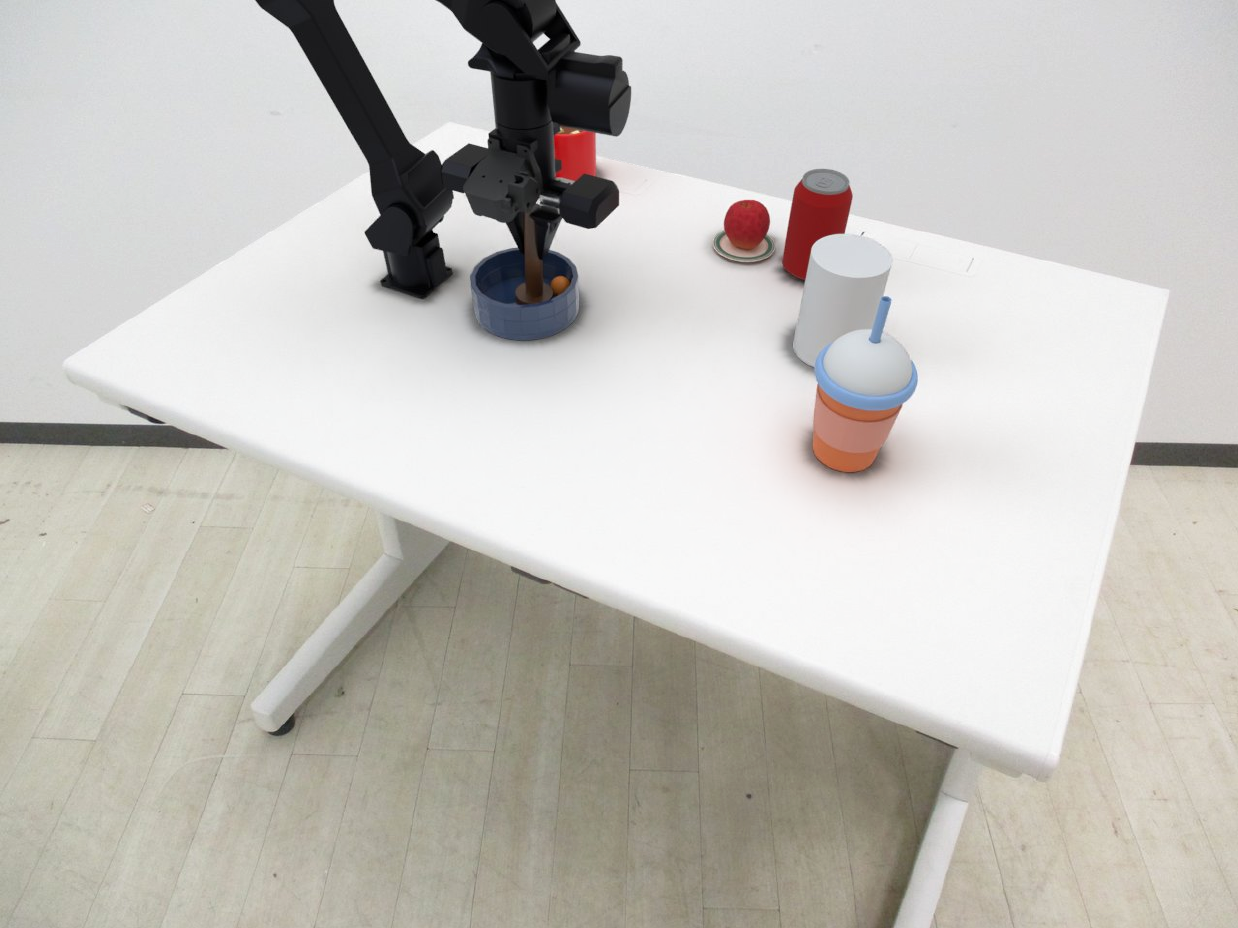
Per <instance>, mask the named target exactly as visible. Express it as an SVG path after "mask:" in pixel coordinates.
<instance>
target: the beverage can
mask: <svg viewBox="0 0 1238 928" xmlns="http://www.w3.org/2000/svg"><path fill="white" fill-rule="evenodd" d="M850 184H851V183H850V179H849V177H848V176H847V175H845V174H844V173H842V172H840V171H838V170H834V169H831V168H830V169H829V168H814V169H811V170H808V171H806V172H805V173H804V174H803V175H802V178H801V180H800V181H798V183H797V184H796V185H795V187H794V190H793V195H792V201H791V204H790V205H791V206H790V212H789V218H788V223H787V228H786V236H785V241H784V247H783V254H782V266H783V268H784V269H785V270H786V271H787V272H788V273H789V274H790V275H792V276H794V277H796V278H798V279H800V280H803V281H805V280H806V275H807V269H808V264H809V259H810V254H811V249H812V246H813V245H814V243H815V242H816V241H818V240H819V239H821V238H823V237H826V236H829V235H834V234H846V230H847V226H848V221H849V216H850V212H851V207H852V202H853V191H852V189H851V185H850Z"/></svg>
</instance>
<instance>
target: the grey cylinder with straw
mask: <svg viewBox="0 0 1238 928" xmlns="http://www.w3.org/2000/svg"><path fill="white" fill-rule="evenodd" d="M892 301H893V300H892V298H891V297H890V296H887V295H883V297H881V300H880V304H879V307H878V311H877V315H876V318H875V322H874V325H873V329H862V330H856V331H852V332H849V333H847V334H845V335H843V336H841V337H840V338H838V339H837V340H836V341H834V342H832V343H830V344H829V345H827V346H826V347H825V348H824V349H823V350H822V351H821V352H820V353H819V355H818V357H817V359H816V362H815V367H813V368H814V377H815V380H816V382H817V384H816V388H815V389H816V391H815V398H814V409H813V417H812V418H813V419H812V426H813V434H812V451H813V453H814V455H815V457H816V458H817V459H818V461H819V462H820V463H822V464H823V465H824V466H826V467H828V468H830V469H832V470H835V471H837V472H842V473H856V472H860V471H863V470H866V469H868V468H869V467H870V466H871V465H872V464H873V463H874V461H875V459H877V456H878V455H879V452H880V450H881V448H882V446H883V445H884V444H885V443H886V441H887V440H888V438H889V435H890V433H891V431H892V429H893V427H894V425H895V423H896V421H897V419H898V418H899V417H898V416H899V414H900V412H901V411H902V408H903V405H904V404H905V403H907V401H908V400H909V399H911V397H912V396H913V395H914V393H915V391H916V389H917V387H918V382H919V381H918V380H919V378H918V377H919V376H918V375H919V374H918V370H917V367H916V365H915V363H914V361H912V358H911V357H910V355H909V353H908V351H907V349H906V347H905V346H904V345H903V344H902V343H901V342H900V341H899V340H898V339H897V338H895V337H894V336H893V335H891V334H889V333H888V332H885V331H884V329H885V326H886V322H887V319H888V314H889V311H890V307H891V304H892Z"/></svg>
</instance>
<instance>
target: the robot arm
mask: <svg viewBox="0 0 1238 928" xmlns="http://www.w3.org/2000/svg"><path fill="white" fill-rule="evenodd" d="M254 1H255V2H256V4H257V5H258V6H259V7H260V9H262V10H264V11H265V12H266V13H267V14H269V15H270V16H271V17H272V18H274V19H276V20H277V21H278V22H280V23H281V24H283V25H284V26H285V27H286V28H288V29H289V30H290V31H291V33H292V35H293V36H294V38H295V40H296V41H297V43H298V45H299V47H300V48H301V50H302V52H303V54H304V55H305V57H306V59H307V60H308V62H309V64H310V66H311V68H312V69H313V70H314V72H315V74H316V75H317V77H318V79H319V81H320V83H321V84H322V86H323V88H324V90H325V91H326V93H327V94H328V96H329V98H330V100H331V102H332V103H333V105H334V107H335V108H336V110H337V112H338V113H339V115H340V116H341V118H342V120H343V123H344V124H345V125H346V127H347V129H348V131H349V132H350V134H351V136H352V137H353V139H354V141H355V143H356V145H357V147H358V148H359V149H360V152H361V154H363V157H364V158H365V160H366V162H367V164H368V169H369V170H368V171H369V180H370V181H369V182H370V193H371V197H372V199H373V202H374V204H375V206H376V208H377V210H378V213H379V215H378V217H377V218H376V219H375V220H374V221H373V223H371V225H369V227H367V228H366V230H364V235H365V237H366V239H367V241H368V243H369V244H370V246H371V248H372V249H373V250H377V251H382V253H383V258H384V263H385V266H386V271H387V274H386V275H385V276H384V277H383V278H381V279H380V281H379V282H380V286H382V287H385V288H388V289H390V290H394V291H397V292H400V293H403V294H407V295H410V296H412V297H414V298H415V297H416V298H419V299H425V298H426V297H428V296H429V295H430V294H431V293H432V292H433V291H435V290H436V289H437V288H438V287H439V286H441V284H442V283H443V282H444V281H446V280H447V279H448V278H449V277H451V275H453V273H454V270H453V267H450V266H446V265H447V264H446V260H445V254H444V253H445V252H444V249H443V247H441V243H440V237H439V233H437V232H435V231H434V228H436V227H437V226H438V225H439V224H440V223H442V222H443V221H444V219H445V215H446V214H447V213H448V212H449V210H450V209H451V208H452V206H453V201H454V198H455V196H454V195H455V194H454V192H456V193H460V194H465V197H466V199H467V201H468V204H469V206H470V208H471V210H472V213H473V214H474V216H478V217H485V218H489V219H492V220H495V221H497V222H498V223H502V224H505V225H506V227H507V229H508V231H509V232H510V235H511V236H512V239H513V240H514V243H515V245H516V248H517V247H518V249H519V251H520V253H521V254H523V255H525V254H524V223H523V212H526V213H529V212H531V210H532V208H533V207H534V205H535V204H536V203H537V202H538V201H539V205H540V206H539V207H538V208H536V209H535V210H534V211H533V212H532V213H531V214H530V215H529V217H530V218H532V219H533V220H534V221H535V222H536V238H537V252H538V257H539V259H540V260H543V259H544V258H545V257H546V256H547V254H548V251H549V250H551V247H552V244H553V241H554V239H555V237H556V234H557V231H558V229H559V226H560V224H561V222H562V220H563V221H564V222H565V223H566V224H569V225H573V226H577V227H579V228H583V229H587V230H592V229H597V227H598V226H600V225H601V223H603V222H604V221H605V220H606V219H607V218H608V217H610V215H611V214H612V213H614V211H615V210H616V209H617V208H618V207H619V206H620V190H619V187H618V185H617V184H616V182H615V181H613V180H610V179H607V178H603V177H600V176H597V175H596V176H592V175H588V174H583V175H582V176H581V177H580V178H578V179H577V180H576V181H572V180H569V179H565V178H560V177H558V178H556V174H557V173H558V172H559V171H560V170H562V160H559V159H555V151H554V136H555V135H556V134H557V133H558V132H560V126H561V127H566V128H571V129H577V130H582V131H588V132H593V133H596V134H599V135H606V136H611V137H619V136H621V134H622V133H623V131H624V129H625V128H626V125H627V122H628V118H629V114H630V110H631V102H632V86H631V85H630V80H629V77H628V74H627V72H626V71H624V70H623V61H624V60H623V58H622V57H621V56H620V55H619V56H618V55H612V54H607V55H597V54H590V53H585V52H580V51H579V52H578V51H577V50H578V48H580V47H581V45H582V44H581V40H580V38H579V37H578V35H577V34H576V32H575V30H574V29H573V27H572V26H571V23H570V22H569V21H568V19H567V18H566V16H565V14H564V13H563V11H562V9H561V7H560V6H559V5H558V3H557V0H435V1H436V2H437V3H439V4H441V5H442V6H443V7H444V8H446V9H448V10H449V11H450V12H451V13H452V14H453V16H454V17H455V18H456V20H457V22H458V23H459V24H460V25H461V27H462V28H463V30H464V31H465V32H467V33H468V34H469V35H471V36H472V37H474V38H475V39H476V40H477V41H479V42H480V43H481V44H480V47H479V49H478V51H477V52H476V53H475V54H474V55H473V56H472V57H471V58H470V59H469V60H467V66H468V67H469V68H470V69H473V70H479V71H485V72H489V74H490V84H491V94H492V103H493V104H492V105H493V113H494V125H495V126H494V127H495V128H494V129H492V130H491V131H489V132H488V138H487V140H486V141H487V147H484V146H481V145H477V144H474V143H469V142H468V143H467V144H465V145H464V146H463V147H461V148H460V149H459V150H457V151H456V152H455V153H452V155H449V156H448V157H447V158H446V159H444V161H442V162H441V159H440V156H439V155H438V153H437V152H436V150H433V149H430V150H429V151H428V152H426V153H424V152H423V151H422V150H420V149H419V148H418V147H416V146H414V145H413V144H412V143H410V141H409V140H408V138H407V136H406V134H405V132H404V131H403V129H402V127H401V125H400V123H399V122H398V120H397V118H396V116H395V114H394V112H393V111H392V109H391V107H390V105H389V103H388V101H387V99H386V98H385V96H384V95H383V92H382V91H381V88H380V87H379V85H378V83H377V81H376V80H375V78H374V76H373V74H372V72H371V71H370V69H369V67H368V65H367V63H366V61H365V59H364V57H363V56H362V54H361V52H360V51H359V49H358V46H357V45H356V43H355V41H354V39H353V37H352V36H351V34H350V32H349V30H348V28H347V26H346V25H345V23H344V21H343V19H342V17H341V15H340V14H339V12H338V10H337V7H336V5H335V0H254ZM542 35H545V36H546V37H547V38H548V40H547V41H546V42H544V44H543V45H541V46H540V47H539V48H537V47H536V45H535V43H534V42H536V40H538V38H540V37H542Z"/></svg>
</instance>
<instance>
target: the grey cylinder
mask: <svg viewBox="0 0 1238 928" xmlns="http://www.w3.org/2000/svg"><path fill="white" fill-rule="evenodd" d="M892 265H893V256H892V254H891V252H890V250H889V249H888V248H887V247H886V246H885V245H883V244H882V243H880V242H879V241H877V240H875V239H873V238H870V237H868V236H864V235H859V234H854V233H845V234H834V235H829V236H826V237H823V238H821V239H819V240H818V241H816V242H815V243H814V245H813V246H812V249H811V254H810V259H809V264H808V269H807V275H806V280H804V284H803V285H804V286H803V290H802V296H801V300H800V306H799V310H798V316H797V320H796V325H795V331H794V335H793V340H792V341H793V342H792V348H793V351H794V354H795V356H796V357H797V358H798V359H799V360H800V361H802V362H803V363H804V364H805V365H808V366H809V367H811V368H814V367H815V362H816V359H817V357H818V355H819V353H820V352H821V351H822V350H823V349H824V348H825V347H826V346H827V345H829V344H830V343H832V342H834V341H836V340H837V339H838V338H840V337H841V336H843V335H845V334H847V333H849V332H852V331H856V330H862V329H873V325H874V322H875V318H876V315H877V311H878V307H879V304H880V300H881V297H883V296H884V294H885V291H886V287H887V284H888V283H887V282H888V280H889V276H890V272H891V269H892Z"/></svg>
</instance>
